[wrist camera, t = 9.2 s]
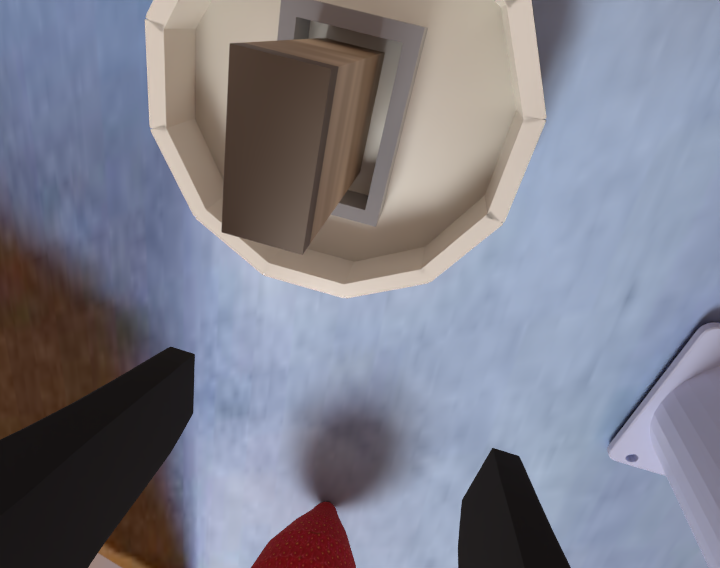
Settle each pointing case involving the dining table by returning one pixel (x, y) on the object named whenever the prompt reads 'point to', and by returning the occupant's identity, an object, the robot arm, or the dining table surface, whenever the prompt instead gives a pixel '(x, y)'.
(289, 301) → the dining table surface
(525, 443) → the dining table surface
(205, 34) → the beige faceted bowl
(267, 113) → the tan cardboard box
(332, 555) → the strawberry
